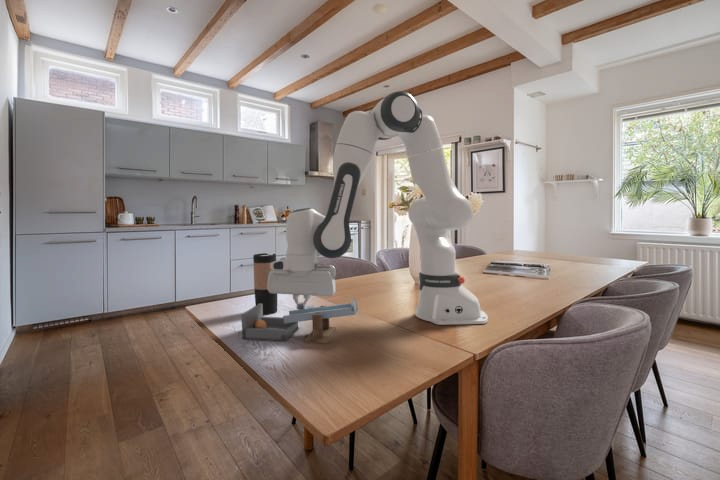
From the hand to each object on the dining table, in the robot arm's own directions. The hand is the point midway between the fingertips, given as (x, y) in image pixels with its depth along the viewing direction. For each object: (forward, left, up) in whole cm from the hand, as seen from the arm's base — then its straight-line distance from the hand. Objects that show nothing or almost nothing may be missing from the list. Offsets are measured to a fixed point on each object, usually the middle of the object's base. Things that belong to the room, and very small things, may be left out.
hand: (301, 309), depth 104 cm
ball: (+10, +6, -3) cm, 13 cm away
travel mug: (+17, -14, -6) cm, 23 cm away
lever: (-8, +3, 0) cm, 8 cm away
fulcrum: (-8, +6, -6) cm, 11 cm away
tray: (+7, +6, -6) cm, 11 cm away
